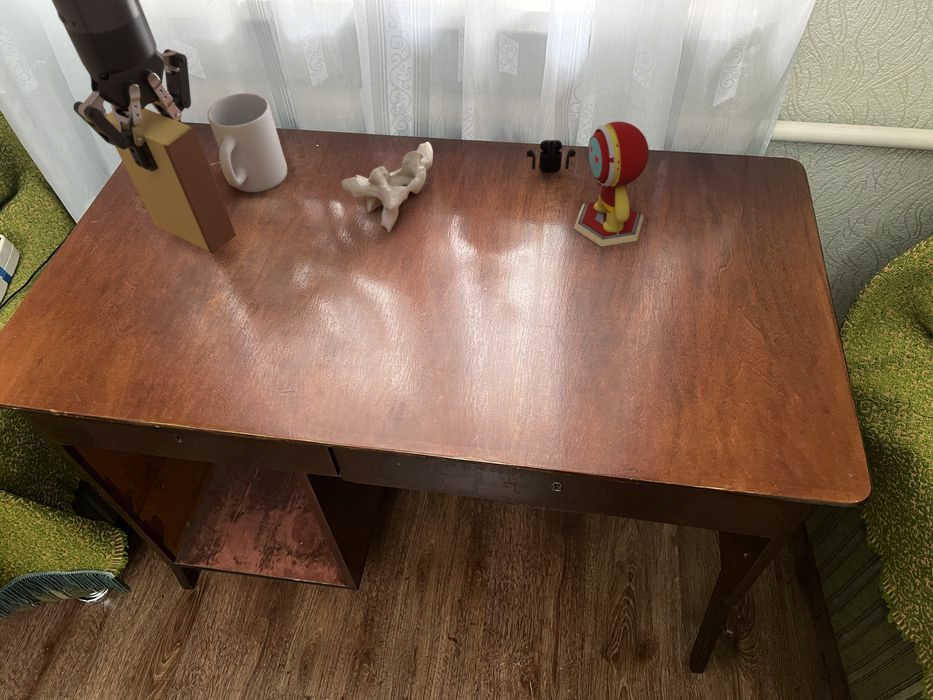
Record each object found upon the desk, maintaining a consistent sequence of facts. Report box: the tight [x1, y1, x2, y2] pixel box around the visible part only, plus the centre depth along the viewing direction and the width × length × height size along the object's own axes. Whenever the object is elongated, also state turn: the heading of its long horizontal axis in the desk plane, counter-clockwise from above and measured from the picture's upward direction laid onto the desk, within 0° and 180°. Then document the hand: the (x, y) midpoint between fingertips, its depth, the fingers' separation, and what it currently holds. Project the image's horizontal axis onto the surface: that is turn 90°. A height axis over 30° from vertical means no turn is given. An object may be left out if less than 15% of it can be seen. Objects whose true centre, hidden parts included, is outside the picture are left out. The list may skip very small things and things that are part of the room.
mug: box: [207, 92, 288, 193], centre depth 99 cm, size 12×8×11 cm
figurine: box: [573, 120, 650, 248], centre depth 89 cm, size 9×10×15 cm
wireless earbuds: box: [526, 139, 577, 172], centre depth 101 cm, size 7×2×5 cm, turn 88°
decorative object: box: [340, 141, 434, 234], centre depth 96 cm, size 9×14×8 cm, turn 140°
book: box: [106, 107, 237, 255], centre depth 85 cm, size 16×4×11 cm
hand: (165, 157), depth 82 cm, fingers closed on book, 4 cm apart
